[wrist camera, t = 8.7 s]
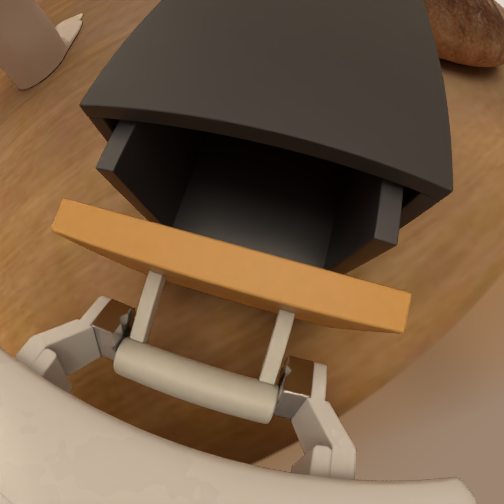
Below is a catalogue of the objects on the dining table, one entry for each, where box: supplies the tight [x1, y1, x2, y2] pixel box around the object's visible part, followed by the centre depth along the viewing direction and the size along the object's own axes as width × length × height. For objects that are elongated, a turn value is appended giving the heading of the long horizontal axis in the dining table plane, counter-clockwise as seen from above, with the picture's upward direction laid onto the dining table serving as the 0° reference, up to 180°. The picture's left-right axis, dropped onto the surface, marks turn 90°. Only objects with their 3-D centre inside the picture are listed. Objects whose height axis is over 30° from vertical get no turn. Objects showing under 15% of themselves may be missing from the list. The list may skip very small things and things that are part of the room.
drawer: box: [51, 119, 412, 424], centre depth 13 cm, size 18×11×9 cm, turn 164°
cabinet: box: [80, 0, 453, 229], centre depth 15 cm, size 15×13×11 cm
